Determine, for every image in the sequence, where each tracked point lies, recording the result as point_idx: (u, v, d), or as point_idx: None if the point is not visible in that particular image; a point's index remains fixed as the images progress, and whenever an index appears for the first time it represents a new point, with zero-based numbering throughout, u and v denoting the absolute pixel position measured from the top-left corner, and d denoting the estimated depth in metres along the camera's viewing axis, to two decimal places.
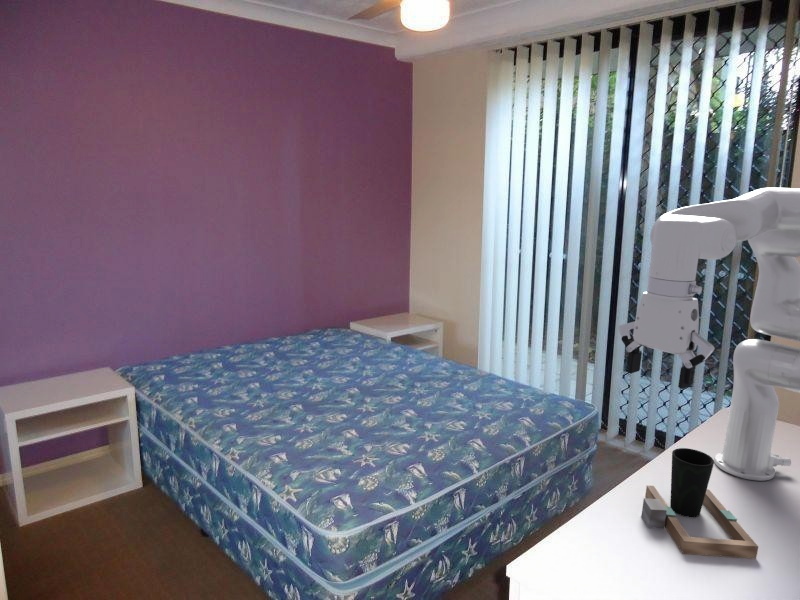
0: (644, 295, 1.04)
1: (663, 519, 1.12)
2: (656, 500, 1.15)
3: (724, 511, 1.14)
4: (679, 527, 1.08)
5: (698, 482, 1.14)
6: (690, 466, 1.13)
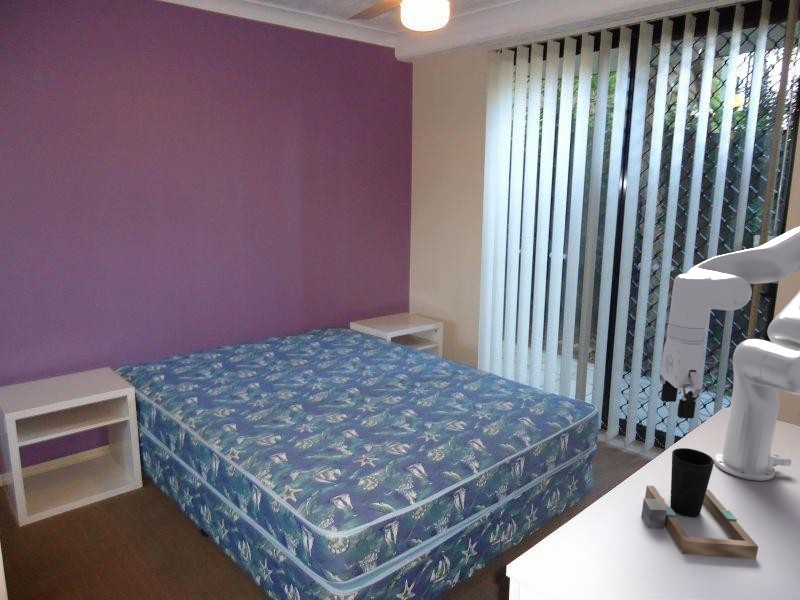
0: None
1: (663, 519, 1.12)
2: (656, 500, 1.15)
3: (724, 511, 1.14)
4: (679, 527, 1.08)
5: (698, 482, 1.14)
6: (690, 466, 1.13)
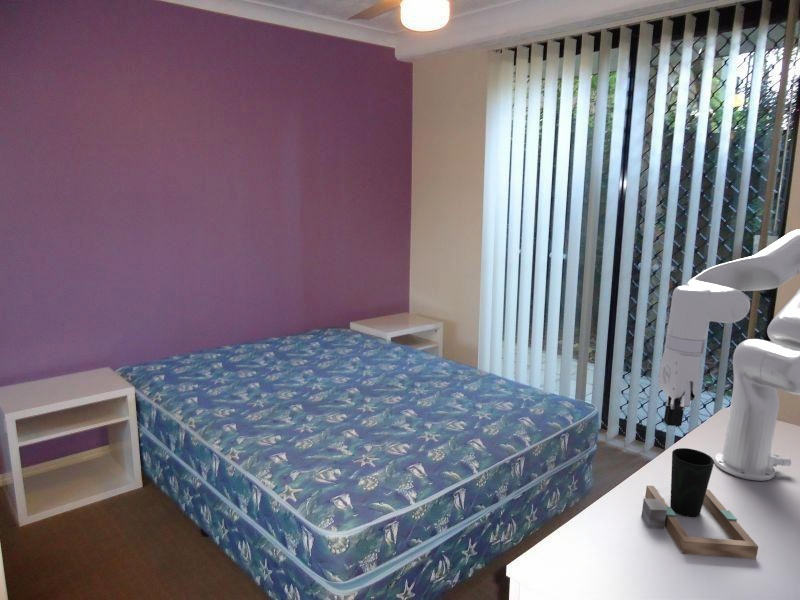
0: (700, 357, 1.19)
1: (663, 519, 1.12)
2: (656, 500, 1.15)
3: (724, 511, 1.14)
4: (679, 527, 1.08)
5: (698, 482, 1.14)
6: (690, 466, 1.13)
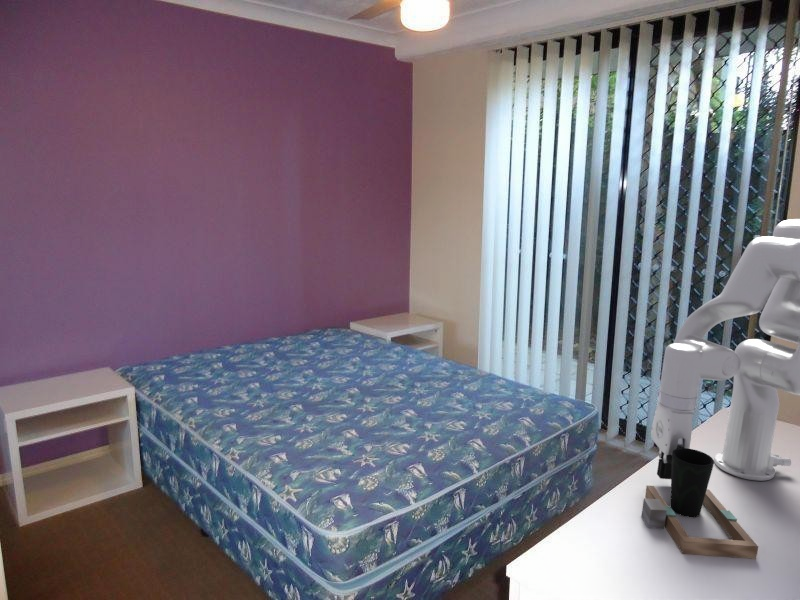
0: (692, 414, 1.22)
1: (663, 519, 1.12)
2: (656, 500, 1.15)
3: (724, 511, 1.14)
4: (679, 527, 1.08)
5: (698, 482, 1.14)
6: (690, 466, 1.13)
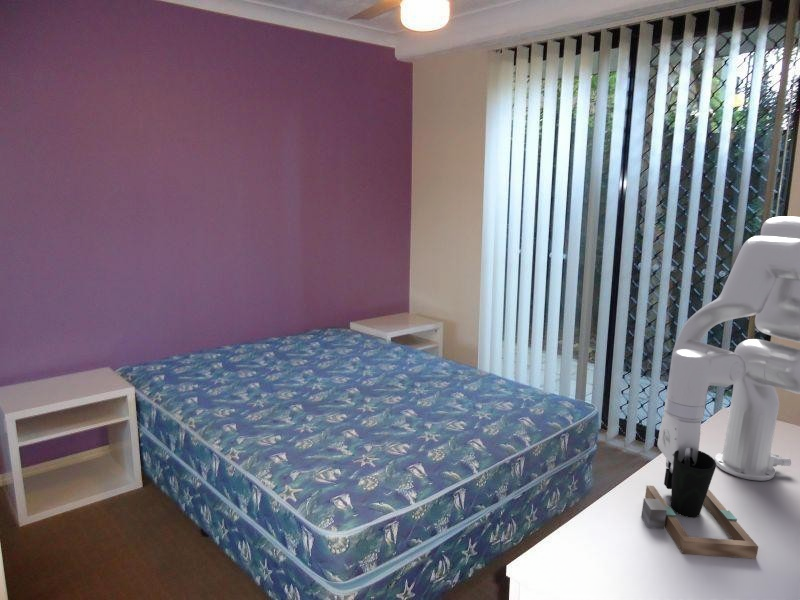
0: (700, 423, 1.18)
1: (663, 519, 1.12)
2: (656, 500, 1.15)
3: (724, 511, 1.14)
4: (679, 527, 1.08)
5: (699, 485, 1.13)
6: (692, 470, 1.12)
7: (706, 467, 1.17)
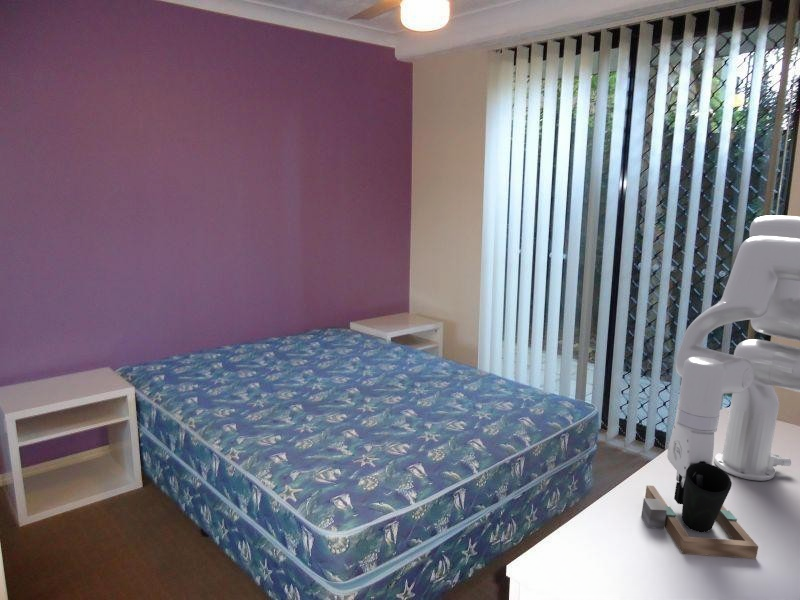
0: None
1: (663, 519, 1.12)
2: (656, 500, 1.15)
3: (724, 511, 1.14)
4: (679, 527, 1.08)
5: (712, 506, 1.07)
6: (705, 493, 1.05)
7: (721, 483, 1.09)
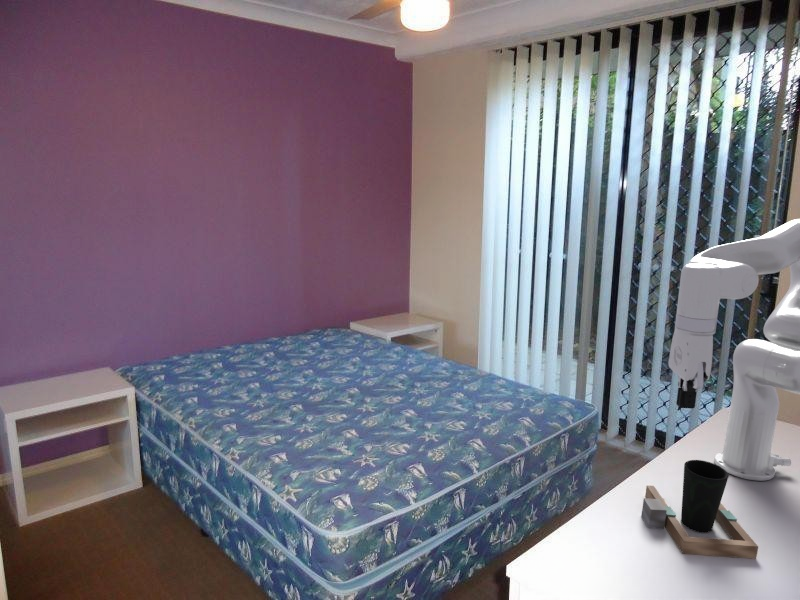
0: (712, 336, 1.15)
1: (663, 519, 1.12)
2: (656, 500, 1.15)
3: (724, 511, 1.14)
4: (679, 527, 1.08)
5: (711, 496, 1.09)
6: (703, 480, 1.08)
7: None
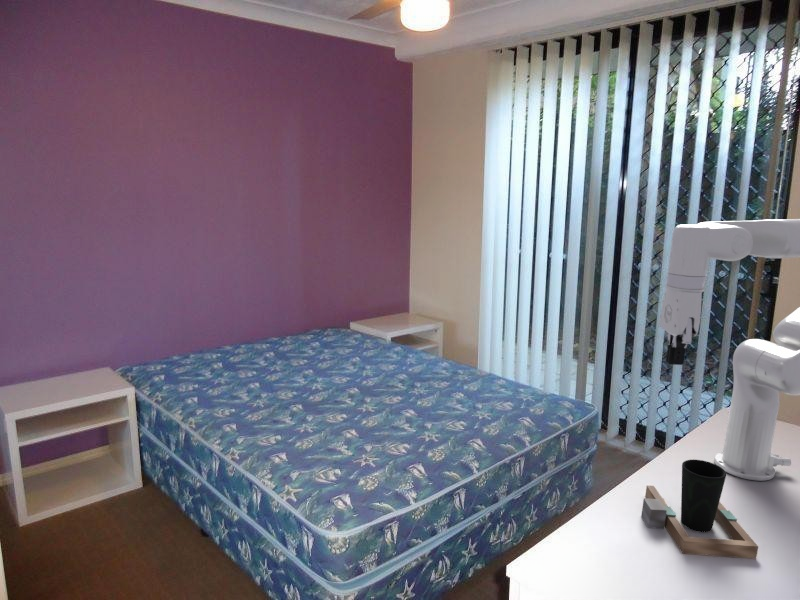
0: None
1: (663, 519, 1.12)
2: (656, 500, 1.15)
3: (724, 511, 1.14)
4: (679, 527, 1.08)
5: (709, 495, 1.09)
6: (700, 478, 1.09)
7: None
